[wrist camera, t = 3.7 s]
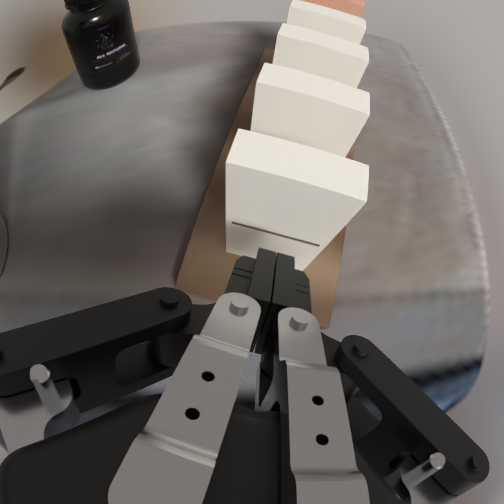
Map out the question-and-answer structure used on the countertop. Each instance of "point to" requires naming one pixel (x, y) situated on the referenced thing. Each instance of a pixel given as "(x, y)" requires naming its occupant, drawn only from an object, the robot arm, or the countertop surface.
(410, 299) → the countertop surface
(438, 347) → the countertop surface
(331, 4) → the domino
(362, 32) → the domino
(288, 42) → the domino
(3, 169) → the countertop surface
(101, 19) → the supplement bottle
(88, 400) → the robot arm
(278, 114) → the domino
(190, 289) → the board
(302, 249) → the domino
